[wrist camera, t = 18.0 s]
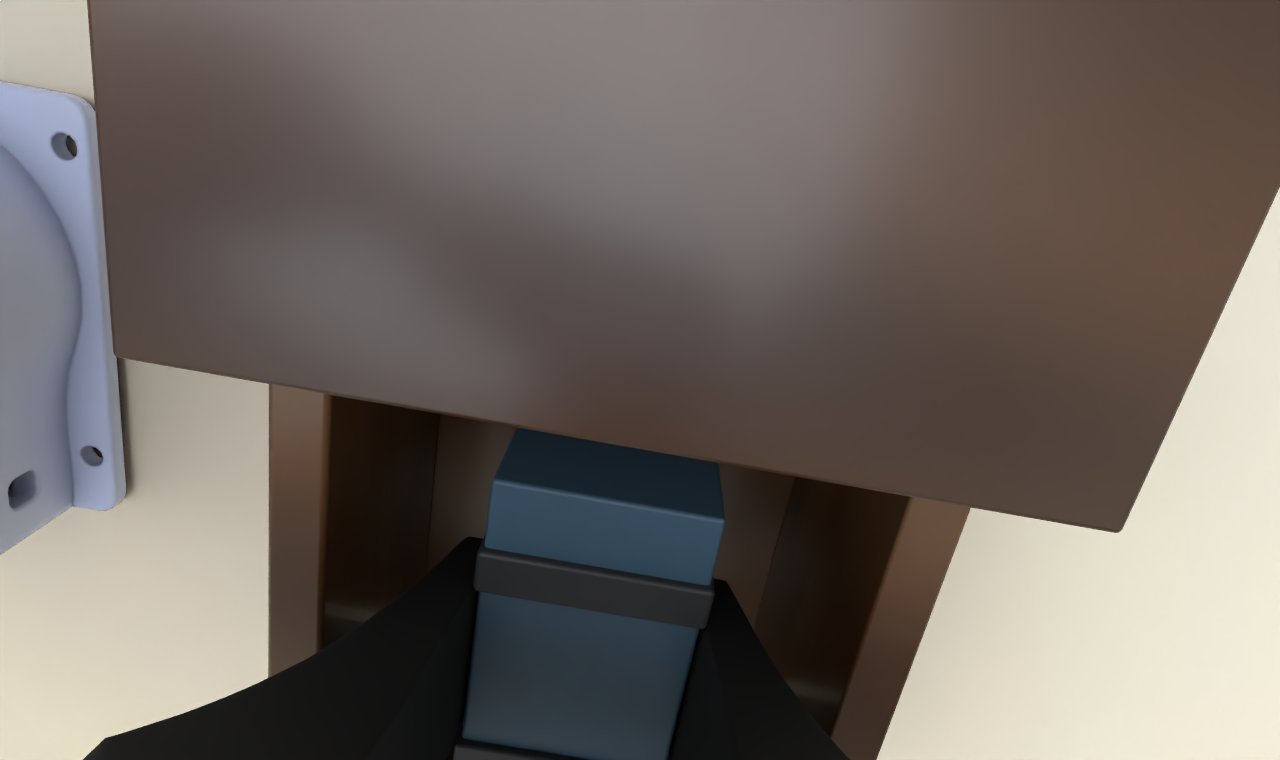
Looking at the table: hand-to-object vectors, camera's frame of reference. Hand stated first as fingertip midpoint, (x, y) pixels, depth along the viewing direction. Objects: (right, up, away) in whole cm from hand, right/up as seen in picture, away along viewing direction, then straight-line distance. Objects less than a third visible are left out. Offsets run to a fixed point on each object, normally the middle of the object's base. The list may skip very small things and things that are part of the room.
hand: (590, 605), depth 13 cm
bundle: (0, 0, +1) cm, 1 cm away
